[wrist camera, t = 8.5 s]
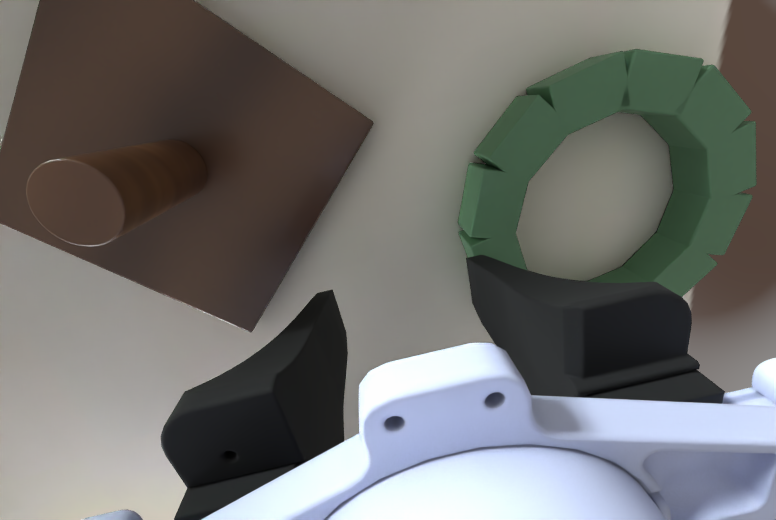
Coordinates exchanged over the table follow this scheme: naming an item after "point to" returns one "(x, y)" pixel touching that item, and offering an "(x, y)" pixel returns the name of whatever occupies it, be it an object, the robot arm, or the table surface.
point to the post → (171, 151)
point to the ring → (668, 118)
